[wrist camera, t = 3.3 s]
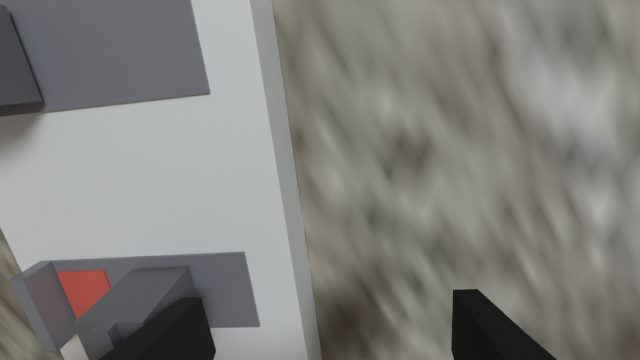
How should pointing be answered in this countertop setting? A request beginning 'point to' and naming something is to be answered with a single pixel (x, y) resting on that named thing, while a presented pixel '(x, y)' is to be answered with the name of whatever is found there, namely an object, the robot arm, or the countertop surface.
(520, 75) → the countertop surface
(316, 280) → the countertop surface
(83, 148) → the switch panel
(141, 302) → the switch middle
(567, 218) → the countertop surface
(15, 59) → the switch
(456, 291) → the robot arm
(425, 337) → the countertop surface
